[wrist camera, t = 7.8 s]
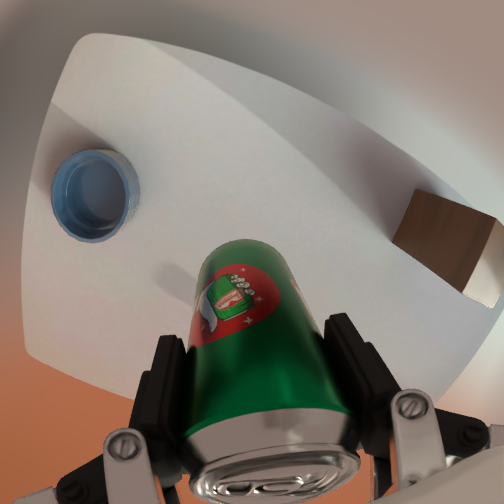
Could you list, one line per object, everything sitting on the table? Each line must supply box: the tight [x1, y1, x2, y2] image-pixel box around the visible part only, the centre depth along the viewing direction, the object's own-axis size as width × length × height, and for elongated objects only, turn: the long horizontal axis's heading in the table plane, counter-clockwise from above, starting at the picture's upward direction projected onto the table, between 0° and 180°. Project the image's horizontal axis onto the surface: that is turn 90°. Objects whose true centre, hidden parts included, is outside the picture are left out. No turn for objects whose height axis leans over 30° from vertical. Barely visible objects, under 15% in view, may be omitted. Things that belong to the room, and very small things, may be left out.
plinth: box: [392, 189, 504, 309], centre depth 35 cm, size 10×10×18 cm
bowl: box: [51, 149, 140, 243], centre depth 34 cm, size 12×12×5 cm
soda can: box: [176, 239, 362, 504], centre depth 11 cm, size 5×5×12 cm
